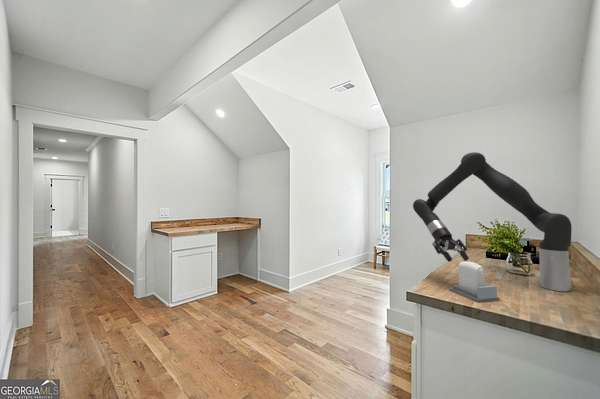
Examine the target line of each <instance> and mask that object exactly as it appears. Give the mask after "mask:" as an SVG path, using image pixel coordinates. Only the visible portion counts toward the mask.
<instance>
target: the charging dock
mask: <svg viewBox="0 0 600 399" xmlns="http://www.w3.org/2000/svg"><path fill="white" fill-rule="evenodd" d="M449 291H450V292H452V293H455V294H457V295H460V296H462V297H464V298H466V299H469V300H471V301H474V302H475V303H485V302H494V301H495V302H496V301H500V297H498V287H497V285H485V286H482V287H477V293H474V292H472V291H469V290H467V289H464V288H461V287H459V285H455V284H451V287H449Z"/></svg>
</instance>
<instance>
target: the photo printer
mask: <svg viewBox="0 0 600 399" xmlns="http://www.w3.org/2000/svg"><path fill="white" fill-rule="evenodd" d="M485 274H486V272H485V267H484V266H482V265H480V264H479V263H476V262H472V261H469V260H467V261H460V262H459V263H458V286H459V287H461V288H464V289H467V290H469V291H472V292H474V293H477V287H482V286H486V278H485V277H486V275H485Z"/></svg>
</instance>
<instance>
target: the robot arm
mask: <svg viewBox="0 0 600 399" xmlns="http://www.w3.org/2000/svg"><path fill="white" fill-rule="evenodd" d="M472 175H474V176H475V177H476V178H478V179H479V180H480V181H482V182H483V184H485V185H486V187H488V188H489V190H491V191H492V192H493V193H494V194H495V195H496V196H498V198H500V200H503V201H504V202H505V203H507V205H509V206H511V207H512V208H513V209H514V210H516V211H517V212H519V213H520V214H522V216H524V218H526V219H527V220H528V221H529V222H530V223H531V224H532V225H533V226H534V227H535V228H536V229H538V230H539V231H540V232H542V233H543V234H544V235H543V239H542V240H541V241H539V242H538V249H539V250H538V252H539V286H540V287H541V288H544V289H546V290H551V291H558V292H570V290H572V287H571V286H572V285H571V284H572V280H571V278H572V277H571V268H570V256H569V253H570V252H569V248H570V246H571V244H572V229H573V228H572V222H571V220H570V218H569V217H568V216H567V215H566V214H562V213H554V212H549V211H547V210H546V209H544V208H543V207H541V206H540V204H538V203H537V202H535V200H534V199H533V197H532V196H531V193H530V192H529V191H528V190H527V189H526V188H525V187H524V186H523V185H521V184H520V183H518V182H517V181H516V180H514V179H513V178H512V177H509V176H508V175H506V174H504V173H502V172H500V171H498V170H497V169H495V168H494V167H493V166H492V165H490V164H489V163H488V162H487V160H486V156H484V154H482V153H480V152H475V151H473V152H468V153H466V154H465V155H463V156H462V157H461V160H460V164H459V165H458V167H456V169H454V170H453V171H452V172H451V173H450V174H449V175H448V176H446V177H445V178H444V179H443V180H441V181H440V182H438V183H437V184H436V185H435V186H434V187H432V188H431V190H429V191H428V193H427V197H428V198H427V199H426V200H424V199H422V198H419V199H416V200H414V201H413V203H412V208H413V210H414V212H415V213H416V214H417V216H418V217H419V218H420V219H421V220H422V222H423V223H424V225H425V227H426V228H427V230H428V232H429V233H430V235H431V236H432V238H433V239H434V241H433V242H432V246H433V248H434V250H435V252H436V253H437V254H438V255H442V256H443V257H444V258H445V260H446V261H447V262H451V261H453V258H452V256H451V255H450V253H449V252H448V251H453V252H457V253H458V254H459V255H460V256H461V258H462V259H463V260H464V261H463V262H466V261H469V259H470V257H469V255H468V254H467V252H466V251H467V250H468V247H466V246H465V244H464V243H463V242H462V240H461V239H460V238H458V239H457V240H455V239H453V235H452V233H451V232H450V230H449V229H448V228H447V227H446V225H445V224H444V223H443V221H442V220H441V218H440V217H439V216H438V215H437V213H435V212H434V211H435V209H436V208H437V206H438V205H439V203H440V202H441V201H442V200H443V199H444V198H446V197H447V196H448V195H449V194H450V193H452V191H453V190H454V189H456V188H457V187H458V186H459V185H460V184H461V183H463V182H464V181H465V180H466V179H468V178H469V177H471V176H472Z"/></svg>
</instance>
